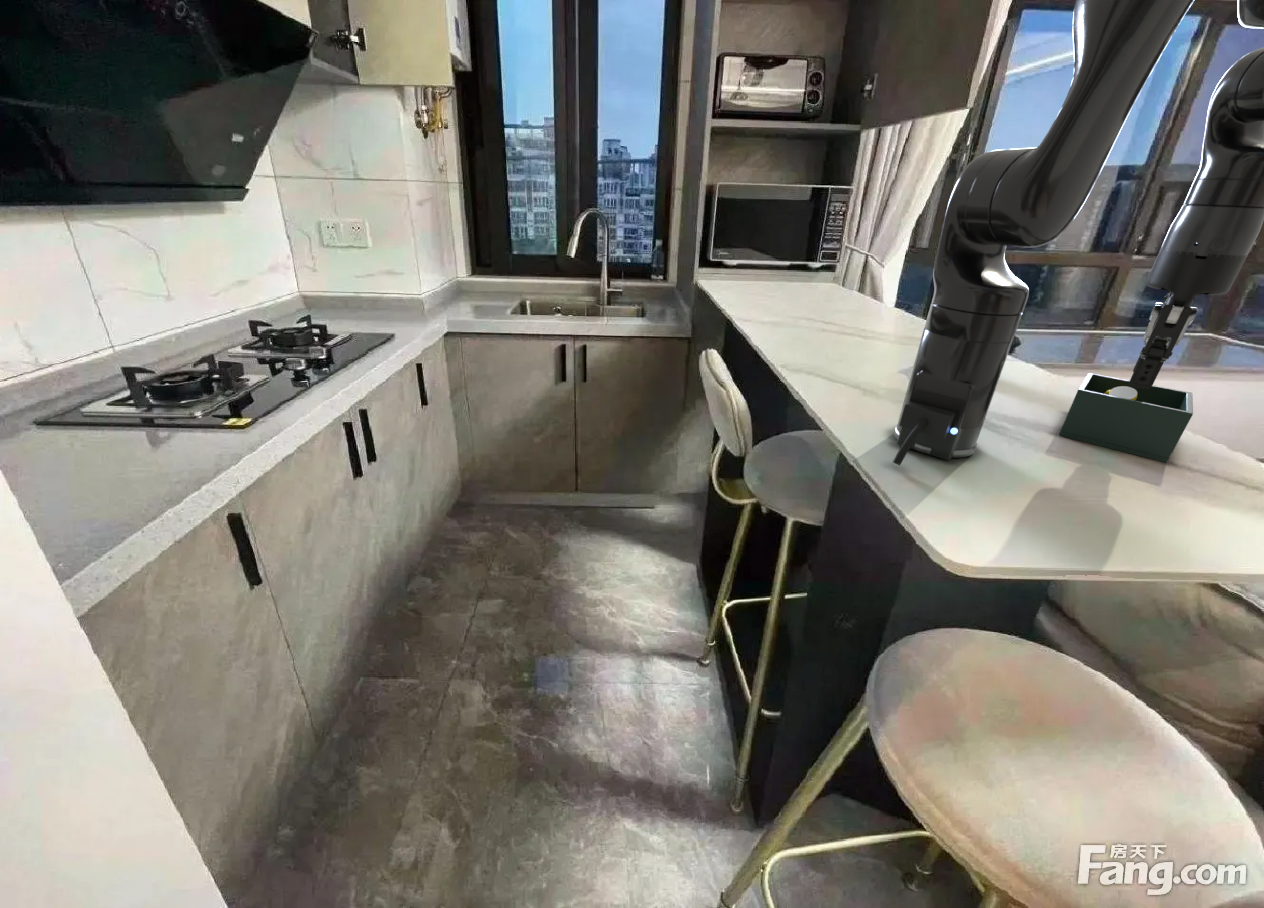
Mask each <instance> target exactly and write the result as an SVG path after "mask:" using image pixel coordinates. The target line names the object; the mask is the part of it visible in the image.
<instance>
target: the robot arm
mask: <svg viewBox="0 0 1264 908" xmlns="http://www.w3.org/2000/svg"><path fill="white" fill-rule="evenodd" d="M1194 1H1195V0H1075V3H1074V7H1073V15H1072V47H1073V74H1072V79H1071V83H1070V88H1069V90H1068V92H1067V95H1066V97H1065V99H1064V101H1063V104H1062V105H1061V107H1060V110H1059V111H1058V113H1057V115H1056V117H1055V119H1054V121H1053V123H1052V124H1051V126H1050V127H1049V130H1048V132H1047V133H1046V134H1045V136H1044V137H1043V139H1042V141H1041V143H1039V145H1038V146H1037V147H1021V148H1001V149H994V150H989V151H986V152H983V153H982V154H980V155H978V156H976V157H975V158H973V159H972V160H971V161H970V162H969V163H968V164H967V165H966V166H965V167H964V168H963V169H962V172H961V173H960V174H959V176H958V178H957V180H956V182H955V184H954V186H953V189H952V190H951V193H950V196H949V199H948V203H947V206H946V209H945V214H944V218H943V223H942V227H941V232H940V235H939V236H940V237H939V241H938V246H937V250H936V255H935V258H934V263H933V270H932V278H933V279H932V280H933V286H934V290H933V295H932V299H931V302H930V306H929V310H928V313H927V317H926V321H925V324H924V327H923V330H922V334H921V338H920V341H919V344H918V348H917V352H916V356H915V359H914V363H913V366H912V370H911V374H910V377H909V380H908V384H907V388H906V391H905V395H904V397H903V398H904V399H903V402H902V405H901V409H900V414H899V416H898V420H897V424H896V425H895V428H894V432H893V437H894V438H895V439H896V445H897V446H900V448H899V450H898V452H897V453H896V456H895V457H894V458H893V460H892V463H893V464H895V465H898V466H901V464H902V463H903V461H904V459H905V458H906V456H907V454H908V452H909V450H914V451H917V452H920V453H924V454H927V455H929V456H931V457H932V456H933V457H936V458H939V459H942V460H946V461H949V460H951V459H953V458H956V459H957V458H966V457H969V456H972V455H973V454H974V453H975V451H976V448H977V446H978V441H979V438H980V434H981V432H982V428H983V426H984V423H985V420H986V417H987V414H988V412H989V409H990V406H991V403H992V400H993V397H994V394H995V392H996V388H997V386H998V383H999V380H1000V378H1001V375H1002V372H1003V370H1004V366H1005V363H1006V360H1007V358H1008V355H1009V352H1010V349H1011V347H1012V345H1013V342H1014V338H1015V335H1016V333H1017V331H1018V327H1019V325H1020V323H1021V319H1022V316H1023V313H1024V311H1025V308H1026V306H1027V303H1028V300H1029V296H1030V288H1029V287H1028V284H1026V283H1025V282H1023V281H1022V280H1021V279H1020V278H1018V277H1017V276H1015V274H1014V273H1013V272H1012V271H1011V270H1010V268H1009V266H1008V264H1007V262H1006V259H1005V255H1006V250H1007V247H1014V248H1024V249H1033V248H1040V247H1043V246H1045V245H1048V244H1050V243H1051V242H1053V241H1055V240H1056V239H1057V238H1059V237H1060V236H1061V234H1063V233H1064V232H1065V231H1066V230H1067V229H1068V228H1069V226H1070V225H1071V224H1072V223H1073V221H1074V220H1075V219H1076V217H1077V216H1078V214H1079V212H1080V211H1081V209H1082V208H1083V206H1084V204H1085V203H1086V201H1087V199H1088V197H1089V196H1090V194H1091V192H1092V190H1093V188H1094V186H1095V184H1096V182H1097V180H1098V178H1099V176H1100V175H1101V172H1102V170H1103V168H1104V166H1105V165H1106V162H1107V160H1108V158H1109V156H1110V153H1111V151H1112V150H1113V147H1114V145H1115V143H1116V141H1117V139H1118V137H1119V135H1120V133H1121V130H1122V129H1123V126H1124V125H1125V123H1126V120H1127V119H1128V116H1129V115H1130V112H1131V110H1132V108H1133V107H1134V105H1135V103H1136V101H1137V99H1138V98H1139V96H1140V95H1141V92H1142V90H1143V88H1144V86H1145V85H1146V83H1147V81H1148V79H1149V78H1150V76H1151V74H1152V73H1153V71H1154V69H1155V67H1156V65H1157V64H1158V61H1160V58H1161V56H1162V55H1163V53H1164V52H1165V50H1166V48H1167V46H1168V44H1169V43H1170V41H1171V39H1172V37H1173V35H1174V34H1175V32H1176V31H1177V29H1178V27H1179V25H1180V24H1181V22H1182V21H1183V19H1184V17H1185V15H1186V14H1187V13H1188V11H1189V9H1190V8H1191V6H1192V5H1193V3H1194ZM1237 18H1238V23H1239V24H1240V25H1241V26H1242V27H1244V28H1249V29H1264V0H1237ZM1206 115H1207V116H1206V121H1205V122H1206V123H1205V128H1204V129H1205V130H1204V135H1203V136H1204V137H1203V141H1202V150H1201V159H1200V165H1199V169H1198V171H1197V173H1196V176H1195V177H1194V180H1193V182H1192V184H1191V187H1190V188H1189V191H1188V193H1187V196H1186V197H1185V200H1184V202H1183V205H1182V206H1181V208H1180V210H1179V212H1178V213H1177V215H1176V217H1175V218H1174V220H1173V222H1172V223H1171V224H1170V227H1169V229H1168V231H1167V234H1166V235H1165V238H1164V240H1163V242H1162V245H1161V247H1160V249H1159V251H1158V254H1157V257H1156V258H1155V261H1154V263H1153V265H1152V267H1151V269H1150V271H1149V273H1148V276H1147V278H1146V280H1145V285H1146V286H1147V287H1149V288H1152V289H1155V290H1161V291H1167V294H1166V295H1164V296H1163V299H1162V300H1163V302H1155V303H1154V305H1153V307H1152V310H1151V312H1150V315H1149V317H1148V319H1149V322H1148V324H1147V326H1146V328H1145V332H1144V335H1143V337H1142V340H1143V345H1144V346H1143V347H1142V349H1141V350H1140V352H1139V356H1138V358H1137V360H1136V363H1135V365H1134V367H1133V369H1132V375H1131V377H1130V379H1129V386H1130V387H1132V388H1137V389H1142V390H1149V389H1151V387H1152V385H1154V384H1155V381H1156V379H1157V377H1158V375H1159V373H1160V371H1161V369H1162V367H1163V365H1164V363H1165V362H1167V360H1169V359H1170V357H1172V355H1173V353H1174V352H1173V350H1174V348H1175V346H1179V345H1180V343H1181V342H1182V340H1183V338H1184V336H1185V334H1186V331H1187V330H1188V328H1189V326H1191V324H1192V323H1193V321H1194V320H1195V318H1196V317H1197V313H1198V312H1199V310H1198V307H1195V306H1193V302H1194V300H1195V298H1196V297H1197V296H1200V295H1206V296H1222V295H1225V294H1227V293H1228V292H1230V291H1231V289H1232V286H1233V284H1234V282H1235V281H1236V279H1237V277H1238V275H1239V273H1240V271H1241V269H1242V267H1243V265H1244V263H1245V261H1246V260H1247V257H1248V255H1249V253H1250V252H1251V249H1252V248H1253V245H1254V243H1255V241H1256V239H1257V238H1258V236H1259V234H1260V232H1261V229H1262V227H1263V223H1264V47H1260V48H1258V49H1254V50H1252V51H1250V52H1249V53H1247V54H1245V55H1243V56H1242V57H1241V58H1239V59H1238V60H1237V61H1235V62H1234V63H1233V64H1232V65H1231V66H1230V67H1229V69H1228V70H1227V71H1226V72H1225V73H1224V74H1223V76H1222V77H1221V79H1220V80H1219V82H1218V83H1217V84H1216V86H1215V89H1214V91H1213V92H1212V95H1211V97H1210V100H1209V104H1208V109H1207V114H1206Z"/></svg>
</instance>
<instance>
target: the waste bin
mask: <svg viewBox="0 0 1264 908" xmlns="http://www.w3.org/2000/svg"><path fill="white" fill-rule="evenodd" d="M1129 381H1130V379H1123V378H1117V377H1113V376H1107V375H1102V374H1098V373H1097V374H1096V373H1093V372H1092V373H1091V372H1088V373H1087V374H1086V376H1085V378H1084V379H1083V381H1082V383H1081V384H1080V386H1079V388H1078V389H1077V391H1076V394H1075V396H1074V399H1073V400H1072V403H1071V405H1070V407H1069V410H1068V412H1067V414H1066V416H1065V419H1064V421H1063V424H1062V426H1061V429H1060V431H1059V434H1058V436H1060V437H1065V438H1068V439H1072V440H1077V441H1080V442H1084V443H1088V444H1092V445H1096V446H1099V447H1103V448H1108V449H1111V450H1116V451H1120V452H1123V453H1127V454H1131V455H1135V456H1138V457H1142V458H1147V459H1150V460H1154V461H1158V462H1161V463H1162V462H1163V463H1168V461H1169V460H1170V458H1171V456H1172V454H1173V452H1174V450H1175V448H1176V447H1177V445H1178V443H1179V441H1180V439H1181V437H1182V436H1183V434H1184V432H1185V430H1186V428H1187V427H1188V424H1189V422H1190V420H1191V419H1192V417H1193V415H1194V402H1193V400H1194V399H1193V398H1194V397H1193V392H1189V391H1185V390H1180V389H1175V388H1170V387H1164V386H1159V385H1154V384H1153V385H1152V387H1151V389H1149V390H1142V389H1137V388H1134V389H1135V390H1136V391H1137V398H1136V400H1130V399H1126V398H1121V397H1116V396H1111V395H1107V394H1104V393H1105V392H1106V391H1108V390H1111V389H1113V388H1115V387H1120V386H1127V387H1130V386H1129ZM1131 388H1132V387H1131Z"/></svg>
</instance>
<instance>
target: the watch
mask: <svg viewBox="0 0 1264 908" xmlns="http://www.w3.org/2000/svg"><path fill="white" fill-rule="evenodd" d="M1104 394H1107V395H1111V396H1116V397H1121V398H1126V399H1130V400H1136V398H1137V391H1136V390H1135V389H1134V388H1131V387H1127V386H1120V387H1115V388H1113V389H1111V390H1108V391H1106V392H1105V393H1104Z"/></svg>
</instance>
